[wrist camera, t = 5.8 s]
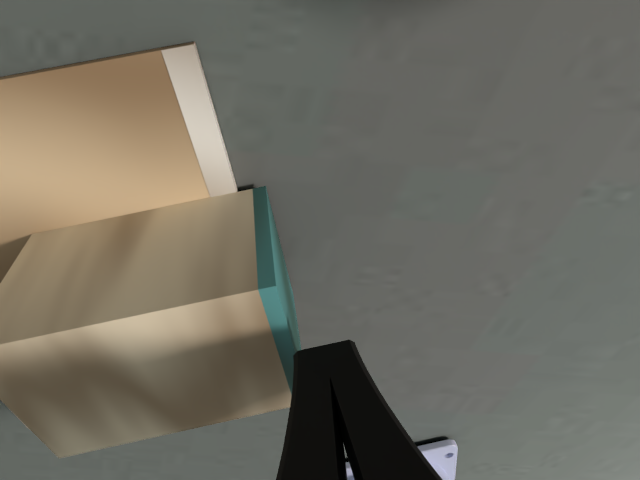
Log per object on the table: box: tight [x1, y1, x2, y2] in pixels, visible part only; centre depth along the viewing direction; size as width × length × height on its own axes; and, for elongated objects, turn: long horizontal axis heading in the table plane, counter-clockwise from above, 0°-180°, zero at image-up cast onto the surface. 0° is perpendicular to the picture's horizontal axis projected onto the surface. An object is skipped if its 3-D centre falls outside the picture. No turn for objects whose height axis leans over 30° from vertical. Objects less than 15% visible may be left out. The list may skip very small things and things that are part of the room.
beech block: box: [0, 186, 301, 458], centre depth 13 cm, size 4×4×7 cm
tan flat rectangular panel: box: [0, 41, 238, 283], centre depth 15 cm, size 13×11×1 cm
